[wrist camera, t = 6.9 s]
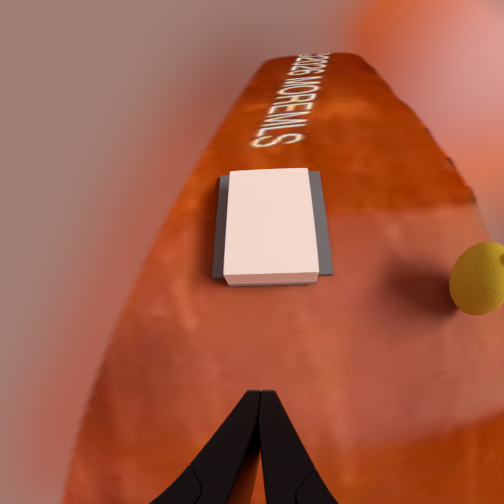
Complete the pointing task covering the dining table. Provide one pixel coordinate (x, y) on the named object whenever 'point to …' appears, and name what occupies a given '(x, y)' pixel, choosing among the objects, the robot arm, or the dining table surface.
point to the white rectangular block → (270, 229)
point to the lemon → (478, 279)
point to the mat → (319, 222)
